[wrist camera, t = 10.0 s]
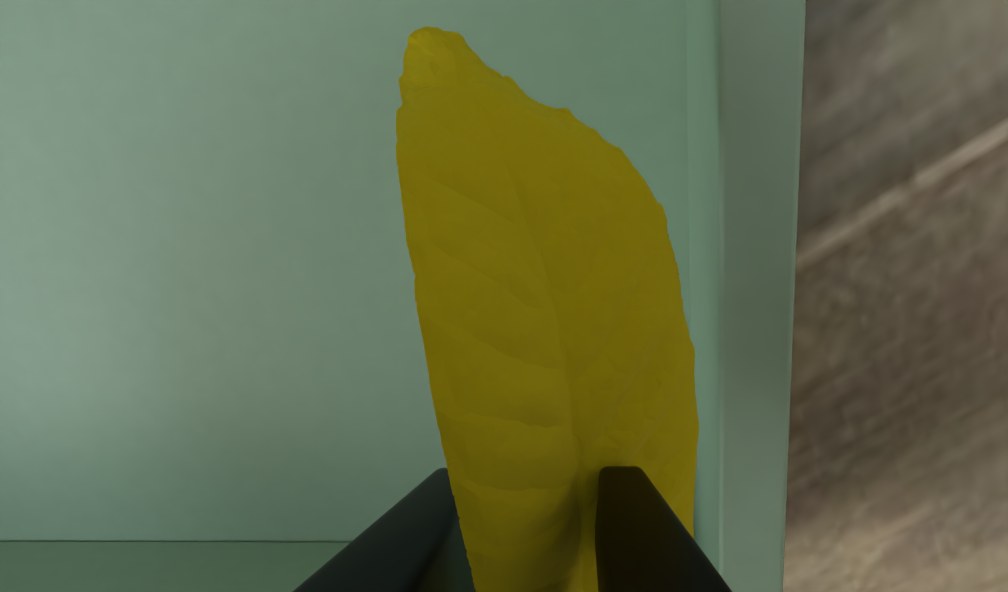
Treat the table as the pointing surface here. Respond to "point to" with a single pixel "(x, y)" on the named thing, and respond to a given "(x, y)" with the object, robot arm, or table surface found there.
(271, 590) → the shallow green tray
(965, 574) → the table surface
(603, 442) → the decorative leaf
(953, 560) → the table surface
